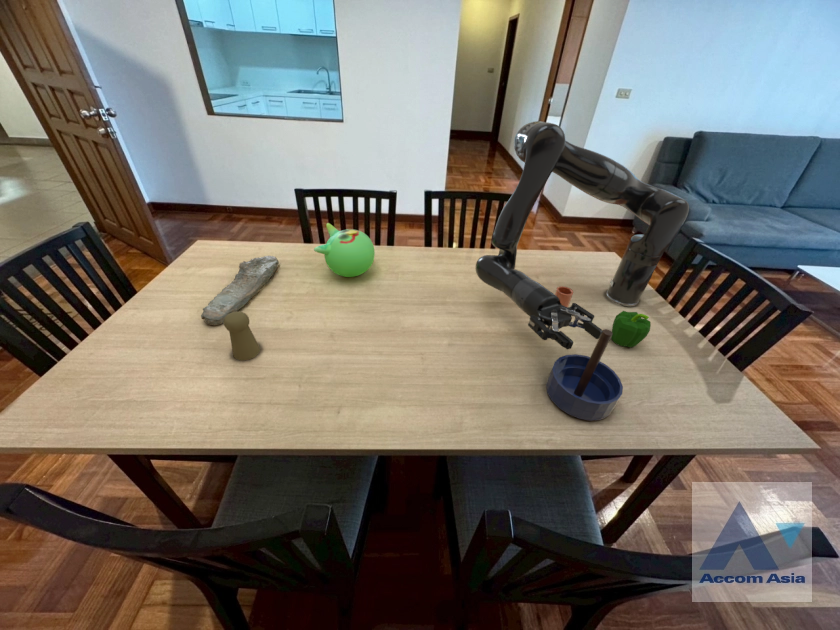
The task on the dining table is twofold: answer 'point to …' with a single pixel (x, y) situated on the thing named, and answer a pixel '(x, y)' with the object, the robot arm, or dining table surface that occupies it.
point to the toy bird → (347, 251)
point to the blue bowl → (597, 394)
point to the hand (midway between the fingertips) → (586, 340)
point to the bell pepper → (630, 328)
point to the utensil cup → (564, 295)
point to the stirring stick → (593, 362)
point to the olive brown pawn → (241, 336)
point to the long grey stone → (240, 289)
